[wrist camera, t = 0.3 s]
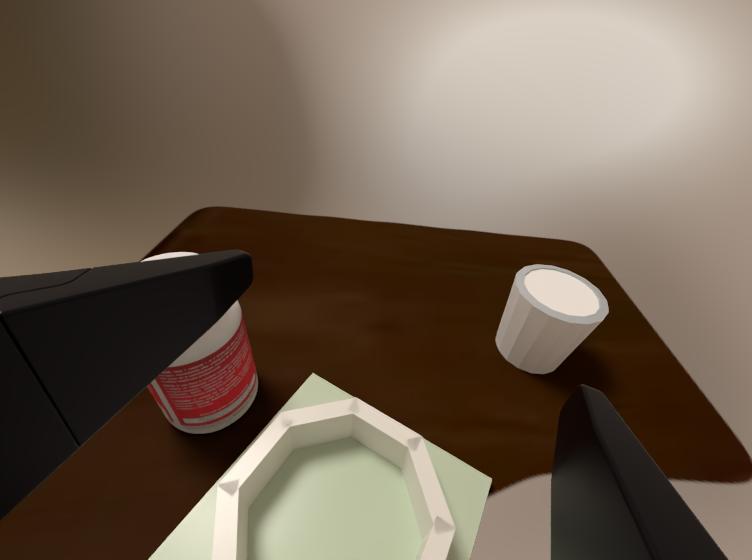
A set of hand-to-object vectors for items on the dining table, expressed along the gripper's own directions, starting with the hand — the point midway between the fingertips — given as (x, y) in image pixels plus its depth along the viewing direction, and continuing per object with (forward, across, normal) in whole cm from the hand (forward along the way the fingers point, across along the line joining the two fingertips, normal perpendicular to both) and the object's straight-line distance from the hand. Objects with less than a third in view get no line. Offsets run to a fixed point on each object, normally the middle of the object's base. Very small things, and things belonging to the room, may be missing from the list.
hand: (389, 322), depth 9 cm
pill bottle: (+4, +13, +16) cm, 21 cm away
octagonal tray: (+1, +1, +16) cm, 16 cm away
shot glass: (+20, -8, +14) cm, 26 cm away
